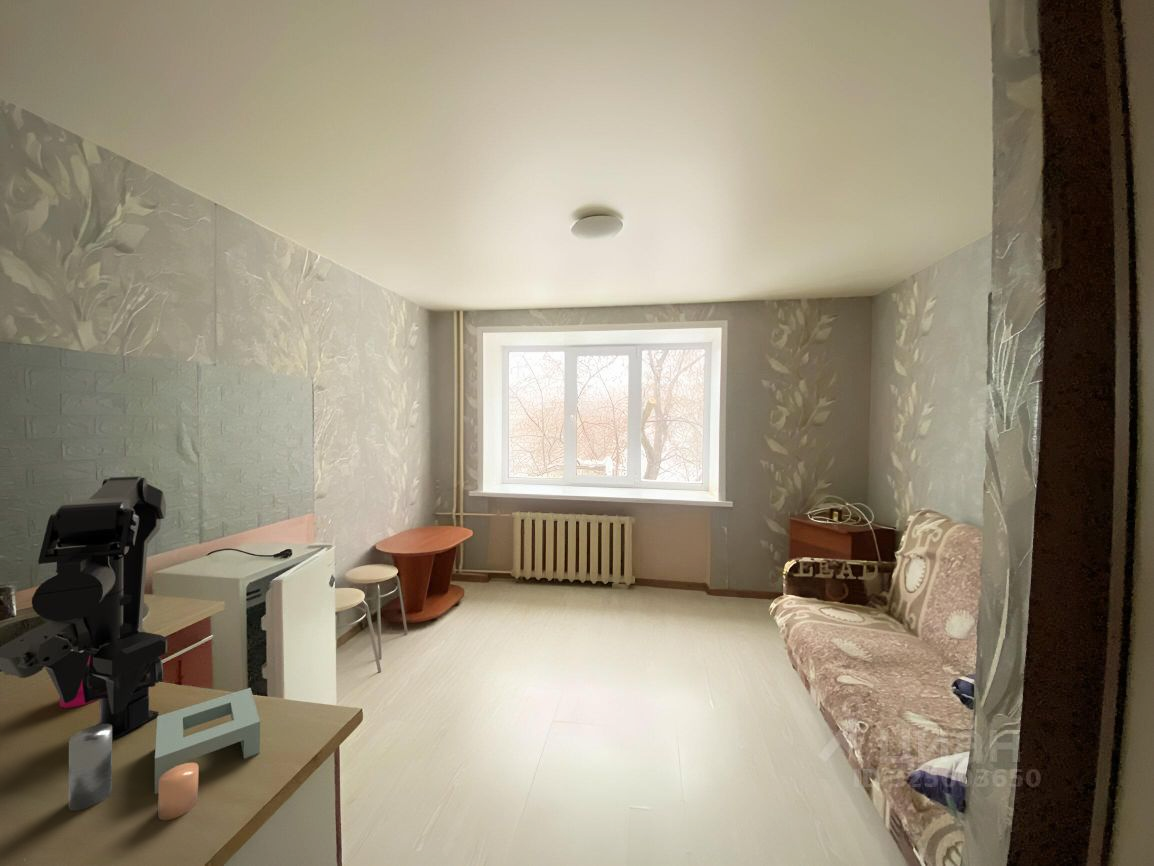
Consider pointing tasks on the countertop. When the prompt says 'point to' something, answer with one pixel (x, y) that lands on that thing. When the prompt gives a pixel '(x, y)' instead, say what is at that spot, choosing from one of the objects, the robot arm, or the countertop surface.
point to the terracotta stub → (178, 791)
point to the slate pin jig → (206, 731)
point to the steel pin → (90, 766)
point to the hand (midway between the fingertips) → (93, 706)
